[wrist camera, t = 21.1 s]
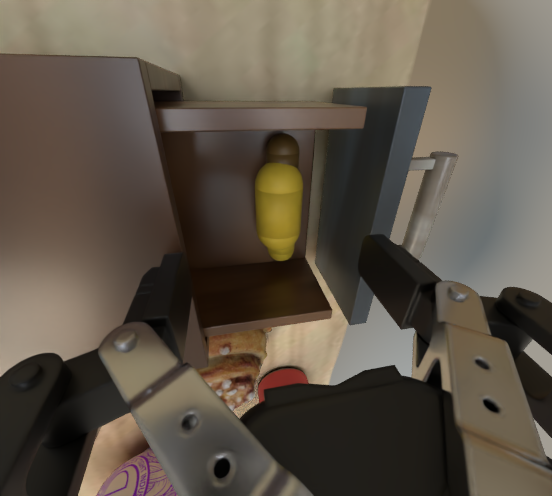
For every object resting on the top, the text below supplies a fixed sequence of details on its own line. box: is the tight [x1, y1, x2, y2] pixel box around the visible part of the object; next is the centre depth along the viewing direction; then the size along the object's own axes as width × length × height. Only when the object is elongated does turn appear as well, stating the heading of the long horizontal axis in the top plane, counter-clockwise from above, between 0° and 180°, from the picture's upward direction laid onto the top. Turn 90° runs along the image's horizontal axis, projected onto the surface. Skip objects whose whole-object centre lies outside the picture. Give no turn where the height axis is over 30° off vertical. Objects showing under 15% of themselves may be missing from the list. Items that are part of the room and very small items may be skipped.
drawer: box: [154, 86, 458, 337], centre depth 16 cm, size 18×13×7 cm
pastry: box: [195, 327, 272, 411], centre depth 22 cm, size 13×15×8 cm
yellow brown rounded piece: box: [255, 133, 303, 261], centre depth 16 cm, size 9×3×3 cm
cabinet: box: [0, 54, 209, 377], centre depth 14 cm, size 15×15×9 cm
